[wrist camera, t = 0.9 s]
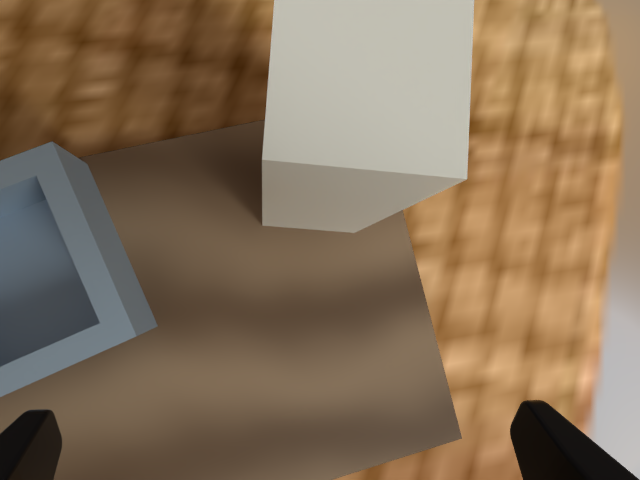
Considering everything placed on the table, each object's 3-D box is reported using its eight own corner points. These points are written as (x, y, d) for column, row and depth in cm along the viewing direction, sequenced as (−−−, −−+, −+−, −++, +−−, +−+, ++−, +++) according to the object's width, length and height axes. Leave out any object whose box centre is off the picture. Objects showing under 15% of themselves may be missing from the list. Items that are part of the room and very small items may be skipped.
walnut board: (455, 432, 23) (461, 438, 22) (-19, 581, 20) (-30, 594, 19) (369, 103, 24) (373, 97, 23) (-99, 199, 21) (-113, 196, 20)
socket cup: (158, 326, 21) (136, 336, 18) (-23, 406, 20) (-84, 434, 16) (87, 163, 21) (52, 141, 18) (-95, 234, 20) (-172, 225, 17)
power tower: (354, 232, 22) (467, 179, 10) (262, 225, 22) (261, 159, 10) (360, 139, 23) (474, -23, 11) (269, 129, 22) (278, -52, 10)
